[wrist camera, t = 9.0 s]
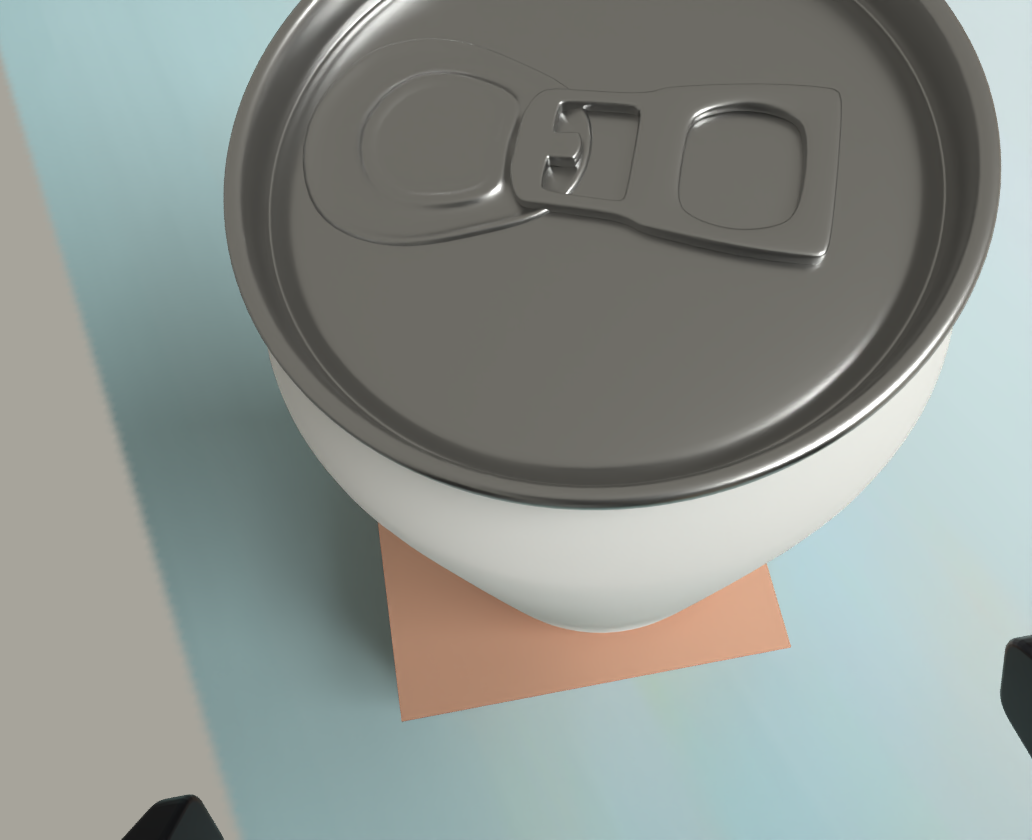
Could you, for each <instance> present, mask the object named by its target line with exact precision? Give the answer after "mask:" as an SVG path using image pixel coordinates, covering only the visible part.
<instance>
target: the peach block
mask: <svg viewBox="0 0 1032 840" xmlns="http://www.w3.org/2000/svg"><path fill="white" fill-rule="evenodd" d="M378 528H379V536H380V545H381V553H382V561H383V570H384V578H385V586H386V595H387V603H388V611H389V620H390V628H391V636H392V645H393V653H394V661H395V670H396V678H397V686H398V694H399V703H400V711H401V719H402V722H403V721H408V720H413V719H418V718H423V717H429V716H434V715H439V714H444V713H450V712H455V711H460V710H465V709H471V708H476V707H481V706H486V705H492V704H497V703H502V702H507V701H512V700H518V699H523V698H528V697H533V696H539V695H544V694H549V693H554V692H560V691H565V690H570V689H575V688H580V687H586V686H591V685H596V684H601V683H607V682H612V681H617V680H622V679H628V678H633V677H638V676H643V675H649V674H654V673H659V672H664V671H669V670H675V669H680V668H685V667H690V666H696V665H701V664H706V663H711V662H717V661H722V660H727V659H732V658H737V657H743V656H748V655H753V654H758V653H764V652H769V651H774V650H779V649H785V648H790V647H791V645H790V642H789V639H788V635H787V632H786V628H785V625H784V621H783V618H782V615H781V611H780V608H779V604H778V601H777V598H776V594H775V591H774V587H773V584H772V581H771V577H770V574H769V570H768V567H767V564H764V565H763V566H761V567H759V568H758V569H756V570H754V571H753V572H751V573H749V574H747V575H746V576H744V577H742V578H740V579H739V580H737V581H735V582H733V583H731V584H730V585H728V586H726V587H724V588H723V589H721V590H719V591H717V592H715V593H713V594H712V595H710V596H708V597H706V598H704V599H702V600H700V601H699V602H697V603H695V604H693V605H691V606H689V607H687V608H685V609H683V610H682V611H680V612H678V613H676V614H674V615H672V616H669V617H667V618H665V619H663V620H660V621H658V622H655V623H653V624H650V625H647V626H644V627H640V628H636V629H632V630H626V631H620V632H610V633H590V632H580V631H574V630H568V629H564V628H560V627H557V626H553V625H550V624H547V623H545V622H542V621H540V620H537V619H535V618H533V617H531V616H529V615H527V614H525V613H523V612H521V611H519V610H517V609H515V608H513V607H512V606H510V605H508V604H506V603H504V602H502V601H501V600H499V599H497V598H495V597H494V596H492V595H490V594H488V593H487V592H485V591H483V590H481V589H480V588H478V587H476V586H474V585H473V584H471V583H469V582H468V581H466V580H464V579H463V578H461V577H459V576H457V575H456V574H454V573H452V572H451V571H449V570H447V569H446V568H444V567H442V566H441V565H439V564H437V563H436V562H434V561H433V560H431V559H429V558H428V557H426V556H425V555H423V554H421V553H420V552H418V551H417V550H415V549H414V548H412V547H411V546H409V545H408V544H407V543H405V542H404V541H403V540H401V539H400V538H399V537H397V536H396V535H394V534H393V533H392V532H390V531H389V530H388V529H386V528H385V527H384V526H382V525H381V524H380V523H379V522H378Z"/></svg>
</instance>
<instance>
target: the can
mask: <svg viewBox="0 0 1032 840" xmlns="http://www.w3.org/2000/svg"><path fill="white" fill-rule="evenodd" d="M1000 187H1001V149H1000V137H999V130H998V123H997V117H996V112H995V108H994V103H993V99H992V95H991V92H990V88H989V85H988V82H987V79H986V76H985V73H984V71H983V68H982V66H981V63H980V61H979V59H978V56H977V54H976V52H975V50H974V48H973V46H972V44H971V42H970V40H969V38H968V36H967V34H966V32H965V31H964V29H963V27H962V25H961V24H960V22H959V21H958V19H957V18H956V16H955V14H954V13H953V11H952V10H951V9H950V7H949V6H948V4H947V3H946V2H945V0H301V1H300V2H299V3H298V4H297V6H296V7H295V8H294V9H293V11H292V12H291V13H290V14H289V16H288V17H287V18H286V20H285V21H284V22H283V24H282V25H281V27H280V28H279V29H278V31H277V32H276V34H275V35H274V37H273V38H272V40H271V42H270V43H269V45H268V46H267V48H266V50H265V52H264V53H263V55H262V57H261V58H260V60H259V62H258V64H257V66H256V68H255V70H254V72H253V74H252V76H251V78H250V81H249V83H248V85H247V87H246V90H245V92H244V95H243V97H242V100H241V103H240V106H239V109H238V111H237V115H236V118H235V121H234V125H233V129H232V133H231V137H230V141H229V147H228V152H227V158H226V167H225V177H224V220H225V230H226V238H227V244H228V250H229V255H230V259H231V264H232V267H233V271H234V274H235V278H236V281H237V284H238V287H239V290H240V293H241V295H242V298H243V300H244V303H245V305H246V308H247V310H248V312H249V314H250V316H251V318H252V321H253V323H254V325H255V327H256V328H257V330H258V332H259V334H260V336H261V337H262V339H263V341H264V343H265V344H266V346H267V348H268V352H269V356H270V360H271V364H272V368H273V371H274V375H275V378H276V380H277V383H278V386H279V389H280V392H281V394H282V396H283V399H284V401H285V404H286V406H287V408H288V410H289V412H290V414H291V416H292V418H293V420H294V422H295V424H296V426H297V428H298V429H299V431H300V433H301V434H302V436H303V438H304V439H305V441H306V442H307V444H308V446H309V447H310V448H311V450H312V451H313V453H314V454H315V456H316V457H317V458H318V460H319V461H320V462H321V463H322V465H323V466H324V467H325V469H326V470H327V471H328V472H329V473H330V475H331V476H332V477H333V478H334V479H335V480H336V481H337V483H338V484H339V485H340V486H341V487H342V488H343V489H344V491H345V492H346V493H347V494H348V495H349V496H350V497H351V498H352V499H353V500H354V501H355V502H356V503H357V504H358V505H359V506H360V507H361V508H362V509H364V510H365V511H366V512H367V513H368V514H369V515H370V516H371V517H373V518H374V519H375V520H376V521H377V522H379V523H380V524H381V525H382V526H384V527H385V528H386V529H388V530H389V531H390V532H392V533H393V534H394V535H396V536H397V537H399V538H400V539H401V540H403V541H404V542H405V543H407V544H408V545H409V546H411V547H412V548H414V549H415V550H417V551H418V552H420V553H421V554H423V555H425V556H426V557H428V558H429V559H431V560H433V561H434V562H436V563H437V564H439V565H441V566H442V567H444V568H446V569H447V570H449V571H451V572H452V573H454V574H456V575H457V576H459V577H461V578H463V579H464V580H466V581H468V582H469V583H471V584H473V585H474V586H476V587H478V588H480V589H481V590H483V591H485V592H487V593H488V594H490V595H492V596H494V597H495V598H497V599H499V600H501V601H502V602H504V603H506V604H508V605H510V606H512V607H513V608H515V609H517V610H519V611H521V612H523V613H525V614H527V615H529V616H531V617H533V618H535V619H537V620H540V621H542V622H545V623H547V624H550V625H553V626H557V627H560V628H564V629H568V630H574V631H580V632H590V633H610V632H620V631H626V630H632V629H636V628H640V627H644V626H647V625H650V624H653V623H655V622H658V621H660V620H663V619H665V618H667V617H669V616H672V615H674V614H676V613H678V612H680V611H682V610H683V609H685V608H687V607H689V606H691V605H693V604H695V603H697V602H699V601H700V600H702V599H704V598H706V597H708V596H710V595H712V594H713V593H715V592H717V591H719V590H721V589H723V588H724V587H726V586H728V585H730V584H731V583H733V582H735V581H737V580H739V579H740V578H742V577H744V576H746V575H747V574H749V573H751V572H753V571H754V570H756V569H758V568H759V567H761V566H763V565H764V564H766V563H768V562H769V561H771V560H773V559H774V558H776V557H778V556H779V555H781V554H783V553H784V552H786V551H788V550H789V549H790V548H792V547H793V546H795V545H796V544H798V543H799V542H801V541H802V540H804V539H805V538H807V537H808V536H809V535H811V534H812V533H814V532H815V531H816V530H818V529H819V528H820V527H822V526H823V525H824V524H826V523H827V522H828V521H830V520H831V519H832V518H833V517H835V516H836V515H837V514H838V513H839V512H841V511H842V510H843V509H844V508H845V507H846V506H847V505H849V504H850V503H851V502H852V501H853V500H854V499H855V498H856V497H857V496H858V495H859V494H860V493H861V492H862V491H863V490H864V489H865V488H866V487H867V486H868V485H869V484H870V483H871V481H872V480H873V479H874V478H875V477H876V476H877V475H878V474H879V472H880V471H881V470H882V469H883V468H884V467H885V465H886V464H887V463H888V462H889V461H890V459H891V458H892V457H893V456H894V454H895V453H896V452H897V450H898V449H899V448H900V446H901V445H902V444H903V442H904V441H905V439H906V438H907V436H908V435H909V433H910V432H911V430H912V429H913V427H914V426H915V424H916V422H917V421H918V419H919V417H920V415H921V414H922V412H923V410H924V408H925V406H926V404H927V402H928V400H929V398H930V396H931V394H932V392H933V389H934V387H935V385H936V382H937V380H938V377H939V374H940V372H941V369H942V366H943V363H944V360H945V357H946V353H947V350H948V346H949V342H950V338H951V334H952V329H953V326H954V324H955V322H956V321H957V319H958V317H959V316H960V314H961V312H962V311H963V309H964V307H965V305H966V303H967V301H968V299H969V297H970V295H971V293H972V291H973V289H974V287H975V285H976V282H977V280H978V278H979V275H980V273H981V270H982V267H983V265H984V262H985V259H986V257H987V253H988V250H989V247H990V243H991V240H992V236H993V232H994V227H995V223H996V218H997V212H998V206H999V197H1000Z"/></svg>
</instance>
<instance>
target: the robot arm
mask: <svg viewBox="0 0 1032 840" xmlns="http://www.w3.org/2000/svg"><path fill="white" fill-rule="evenodd" d="M1000 697H1001V702H1002V706H1003V709H1004V711H1005V713H1006V715H1007V717H1008V719H1009V721H1010V723H1011V724H1012V726H1013V728H1014V729H1015V731H1016V733H1017V734H1018V736H1019V738H1020V739H1021V741H1022V743H1023V744H1024V746H1025V748H1026V749H1027V751H1028V753H1029V754H1030V756H1031V758H1032V635H1029V636H1023V637H1018V638H1014V639H1012V640H1010V641H1009V643H1008V644H1007V645H1006V648H1005V655H1004V664H1003V672H1002V681H1001V689H1000ZM122 840H224V838H223V836H222V834H221V833H220V831H219V830H218V828H217V826H216V825H215V823H214V821H213V819H212V818H211V816H210V814H209V813H208V811H207V809H206V808H205V806H204V804H203V803H202V801H201V800H200V799H199V798H198V797H196V796H195V795H184V796H178V797H173V798H168V799H164V800H161V801H159V802H157V803H155V804H154V805H153V806H152V807H151V808H150V809H149V810H148V811H147V812H146V813H145V814H144V815H143V817H142V818H141V819H140V820H139V821H138V822H137V823H136V824H135V825H134V827H132V829H131V830H130V831H129V832H128V833H127V834H126V835H125V836H124V837H123V838H122Z"/></svg>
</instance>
